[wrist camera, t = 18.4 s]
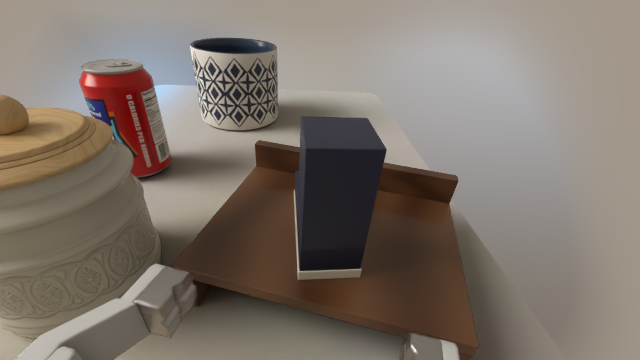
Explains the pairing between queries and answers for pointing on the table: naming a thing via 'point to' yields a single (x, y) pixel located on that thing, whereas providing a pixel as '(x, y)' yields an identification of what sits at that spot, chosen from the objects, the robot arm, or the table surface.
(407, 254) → the wooden display stand
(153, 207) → the table surface
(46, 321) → the jar
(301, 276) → the navy stepped block
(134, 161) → the soda can
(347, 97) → the table surface
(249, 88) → the planter
